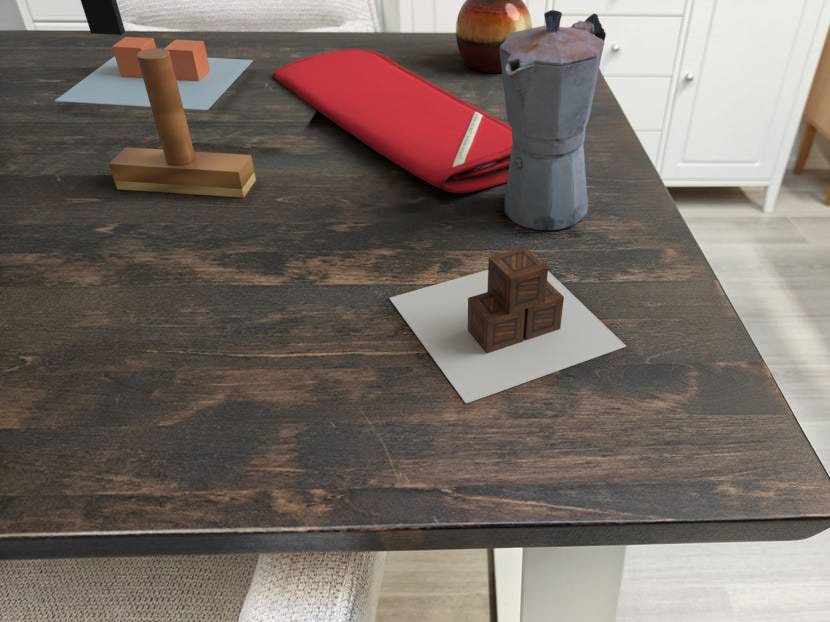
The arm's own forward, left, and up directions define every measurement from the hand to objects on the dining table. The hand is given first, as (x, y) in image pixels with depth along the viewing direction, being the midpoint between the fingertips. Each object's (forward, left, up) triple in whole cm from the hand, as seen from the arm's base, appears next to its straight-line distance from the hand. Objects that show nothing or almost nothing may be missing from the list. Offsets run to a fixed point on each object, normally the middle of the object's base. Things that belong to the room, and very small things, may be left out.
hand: (143, 10), depth 69 cm
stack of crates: (+36, -20, -18) cm, 45 cm away
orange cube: (-18, +28, -17) cm, 37 cm away
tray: (-14, +26, -18) cm, 35 cm away
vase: (+30, +42, -18) cm, 55 cm away
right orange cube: (-11, +28, -17) cm, 34 cm away
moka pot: (+39, 0, -18) cm, 43 cm away
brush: (0, 0, -18) cm, 18 cm away
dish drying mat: (+20, +19, -18) cm, 33 cm away
